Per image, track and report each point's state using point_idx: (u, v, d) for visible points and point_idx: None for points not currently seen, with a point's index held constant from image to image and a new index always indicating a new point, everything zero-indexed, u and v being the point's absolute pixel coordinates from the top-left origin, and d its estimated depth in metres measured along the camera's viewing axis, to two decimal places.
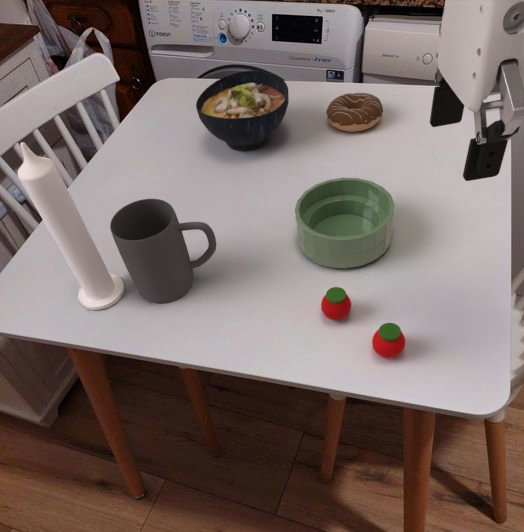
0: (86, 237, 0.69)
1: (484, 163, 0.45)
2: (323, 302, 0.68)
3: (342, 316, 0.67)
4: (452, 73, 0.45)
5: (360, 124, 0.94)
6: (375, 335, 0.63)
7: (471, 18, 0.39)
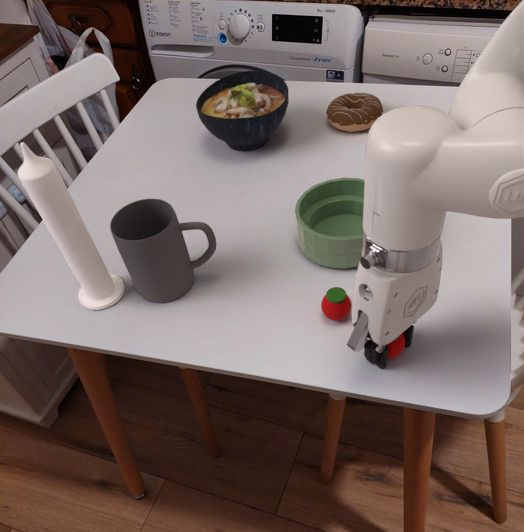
0: (86, 237, 0.69)
1: (367, 354, 0.63)
2: (323, 302, 0.68)
3: (342, 316, 0.67)
4: None
5: (360, 124, 0.94)
6: None
7: None
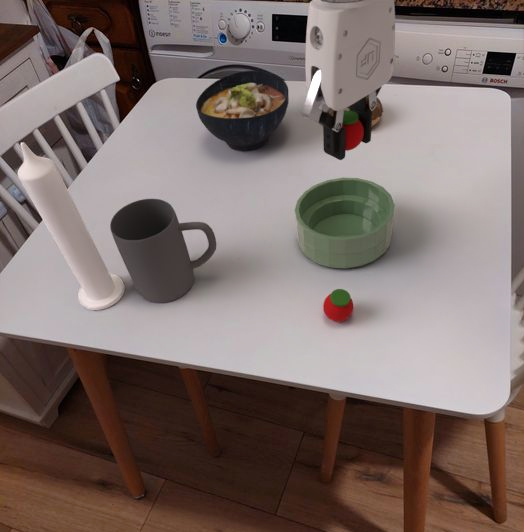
0: (86, 237, 0.69)
1: (326, 142, 0.62)
2: (326, 303, 0.67)
3: (344, 318, 0.67)
4: None
5: None
6: None
7: None
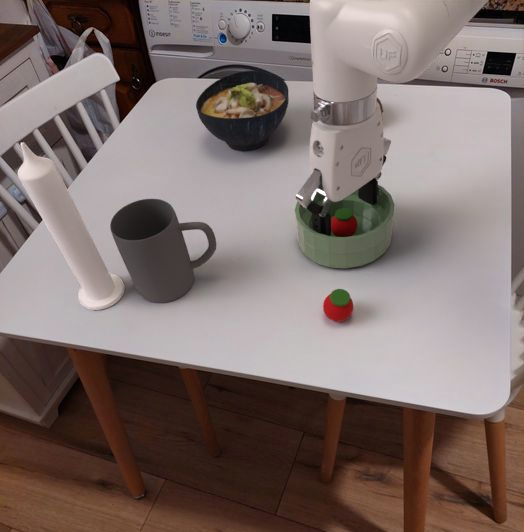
0: (86, 237, 0.69)
1: (314, 223, 0.72)
2: (326, 303, 0.67)
3: (344, 318, 0.67)
4: None
5: None
6: (332, 219, 0.77)
7: None
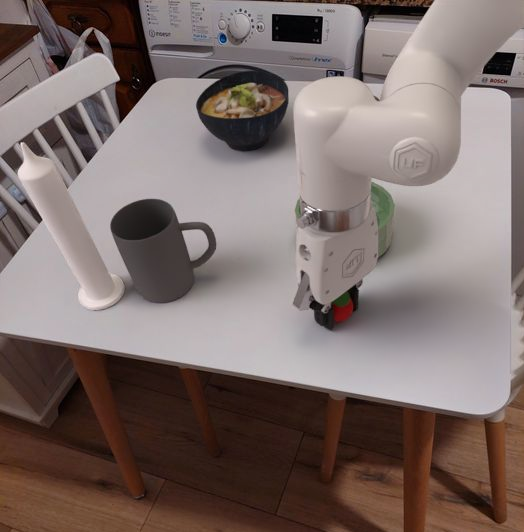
0: (86, 237, 0.69)
1: (316, 316, 0.67)
2: None
3: (344, 318, 0.67)
4: None
5: None
6: None
7: None
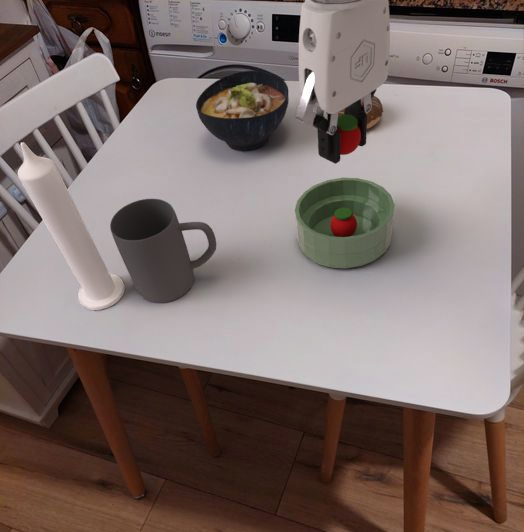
0: (86, 237, 0.69)
1: (320, 145, 0.61)
2: None
3: (351, 148, 0.62)
4: None
5: None
6: (332, 219, 0.77)
7: None
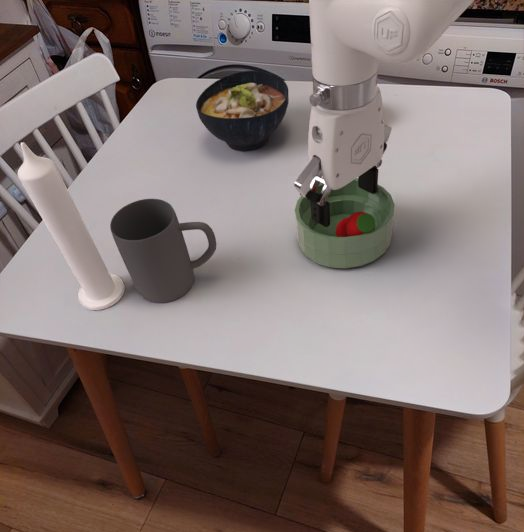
0: (86, 237, 0.69)
1: (312, 212, 0.71)
2: (351, 225, 0.71)
3: None
4: None
5: None
6: (341, 226, 0.75)
7: None
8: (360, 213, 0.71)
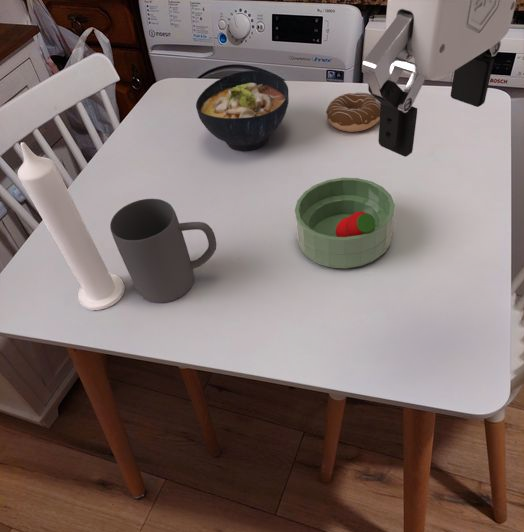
0: (86, 237, 0.69)
1: (384, 129, 0.41)
2: (351, 225, 0.71)
3: None
4: None
5: (360, 124, 0.94)
6: (341, 226, 0.75)
7: None
8: (360, 213, 0.71)
